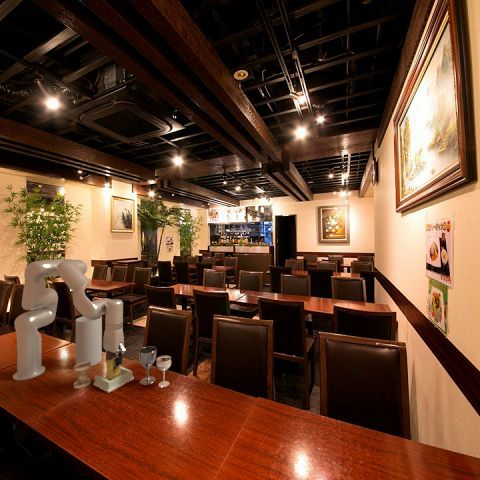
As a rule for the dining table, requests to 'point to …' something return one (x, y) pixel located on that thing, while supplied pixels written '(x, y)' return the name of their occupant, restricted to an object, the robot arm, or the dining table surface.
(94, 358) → the cylinder vase
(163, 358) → the wineglass
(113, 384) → the notched board
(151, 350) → the wine glass
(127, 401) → the dining table surface
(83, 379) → the bobbin
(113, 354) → the sauce bottle
